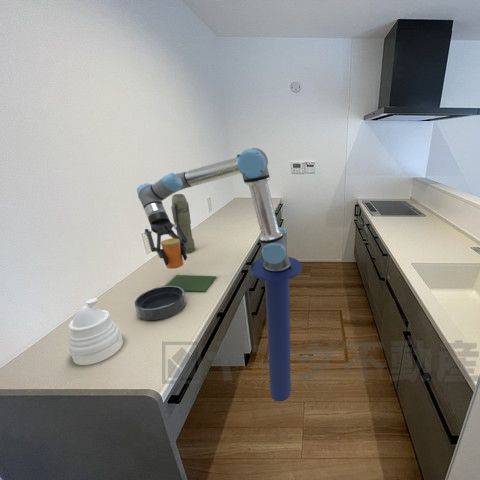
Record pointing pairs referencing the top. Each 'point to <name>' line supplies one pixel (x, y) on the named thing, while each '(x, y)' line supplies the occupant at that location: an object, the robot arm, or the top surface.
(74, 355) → the honey pot
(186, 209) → the green elongated piece
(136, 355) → the top surface
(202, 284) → the mat
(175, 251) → the tea tin
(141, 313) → the bowl
